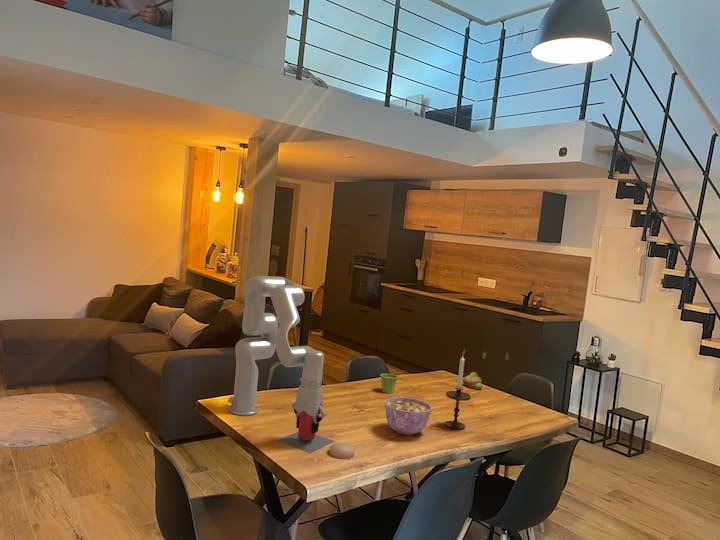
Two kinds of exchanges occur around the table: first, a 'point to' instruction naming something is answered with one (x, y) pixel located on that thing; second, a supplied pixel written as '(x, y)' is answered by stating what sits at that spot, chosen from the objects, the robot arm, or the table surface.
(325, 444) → the slate mat
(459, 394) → the candlestick
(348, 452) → the pinkish beige domed disc
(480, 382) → the lumpy yellow-green gourd
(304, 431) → the beer can
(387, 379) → the plant pot
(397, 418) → the bowl of food
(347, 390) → the table surface
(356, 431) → the table surface
